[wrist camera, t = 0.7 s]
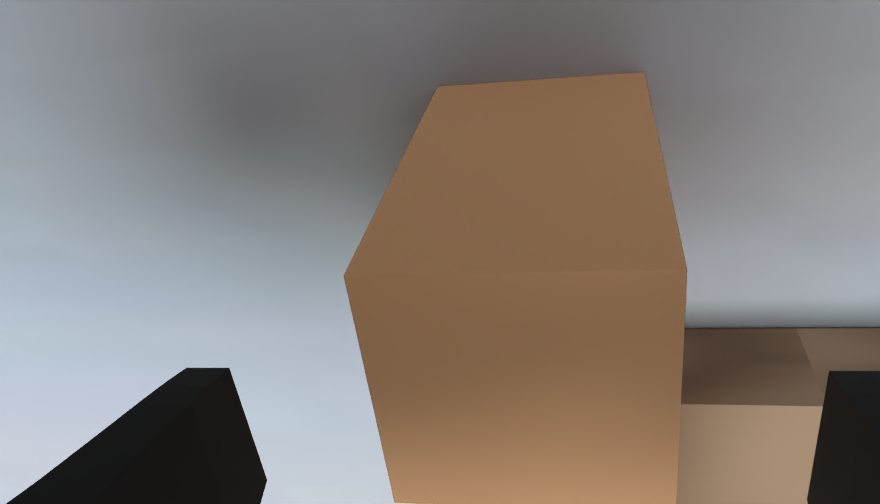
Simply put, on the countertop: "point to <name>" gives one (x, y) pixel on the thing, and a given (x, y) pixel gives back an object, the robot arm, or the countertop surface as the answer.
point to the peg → (527, 299)
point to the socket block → (759, 409)
